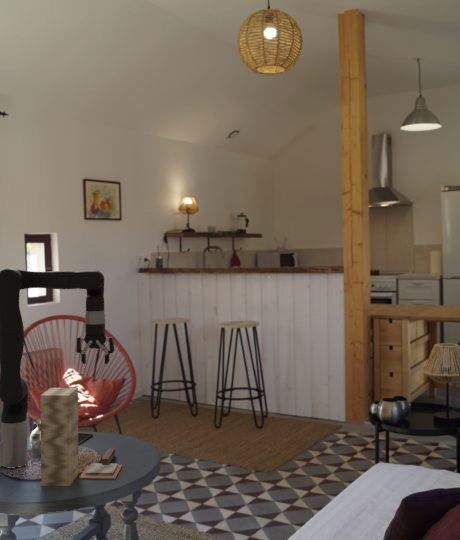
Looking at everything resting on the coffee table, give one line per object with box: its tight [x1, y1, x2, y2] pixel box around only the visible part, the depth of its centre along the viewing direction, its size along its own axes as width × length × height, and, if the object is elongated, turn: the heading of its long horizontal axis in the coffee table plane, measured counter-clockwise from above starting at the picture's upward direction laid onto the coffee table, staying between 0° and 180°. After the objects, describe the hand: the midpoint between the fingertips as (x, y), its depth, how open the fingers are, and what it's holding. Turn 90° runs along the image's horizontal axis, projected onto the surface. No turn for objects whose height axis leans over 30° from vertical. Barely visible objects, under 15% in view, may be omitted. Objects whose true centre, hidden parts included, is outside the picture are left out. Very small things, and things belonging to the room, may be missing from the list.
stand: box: [39, 387, 80, 487], centre depth 235 cm, size 10×12×32 cm
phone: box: [78, 432, 94, 447], centre depth 283 cm, size 8×1×15 cm
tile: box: [78, 464, 123, 480], centre depth 244 cm, size 13×14×1 cm
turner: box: [85, 447, 119, 475], centre depth 251 cm, size 10×23×2 cm, turn 179°
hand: (95, 363), depth 255 cm, fingers open, 8 cm apart
